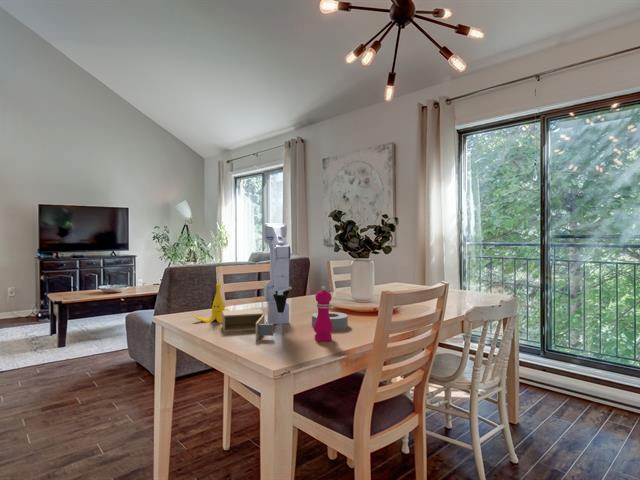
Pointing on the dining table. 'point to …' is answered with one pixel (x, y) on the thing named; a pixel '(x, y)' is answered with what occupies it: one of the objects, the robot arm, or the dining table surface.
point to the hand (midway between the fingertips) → (281, 310)
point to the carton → (240, 319)
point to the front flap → (263, 328)
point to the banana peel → (215, 308)
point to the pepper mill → (323, 316)
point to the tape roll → (335, 320)
